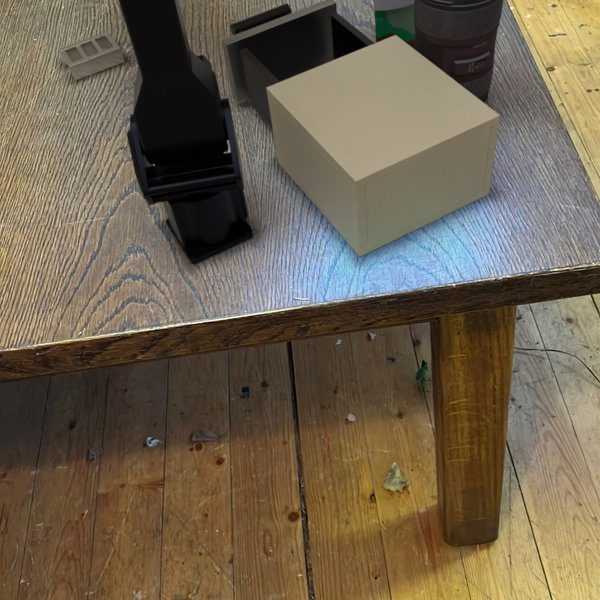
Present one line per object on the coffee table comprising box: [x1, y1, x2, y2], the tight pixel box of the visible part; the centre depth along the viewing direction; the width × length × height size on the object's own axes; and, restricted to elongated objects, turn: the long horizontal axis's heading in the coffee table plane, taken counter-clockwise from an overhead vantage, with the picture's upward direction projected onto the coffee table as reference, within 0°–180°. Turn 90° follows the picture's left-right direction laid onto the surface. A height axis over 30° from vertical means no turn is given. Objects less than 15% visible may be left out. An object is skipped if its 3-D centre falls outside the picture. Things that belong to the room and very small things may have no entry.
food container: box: [373, 0, 415, 49], centre depth 81 cm, size 12×6×10 cm, turn 168°
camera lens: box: [414, 0, 504, 104], centre depth 71 cm, size 8×8×15 cm
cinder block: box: [58, 30, 126, 82], centre depth 89 cm, size 6×5×2 cm
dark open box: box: [221, 0, 376, 131], centre depth 76 cm, size 20×13×7 cm, turn 29°
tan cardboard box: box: [266, 35, 501, 258], centre depth 67 cm, size 16×14×9 cm
